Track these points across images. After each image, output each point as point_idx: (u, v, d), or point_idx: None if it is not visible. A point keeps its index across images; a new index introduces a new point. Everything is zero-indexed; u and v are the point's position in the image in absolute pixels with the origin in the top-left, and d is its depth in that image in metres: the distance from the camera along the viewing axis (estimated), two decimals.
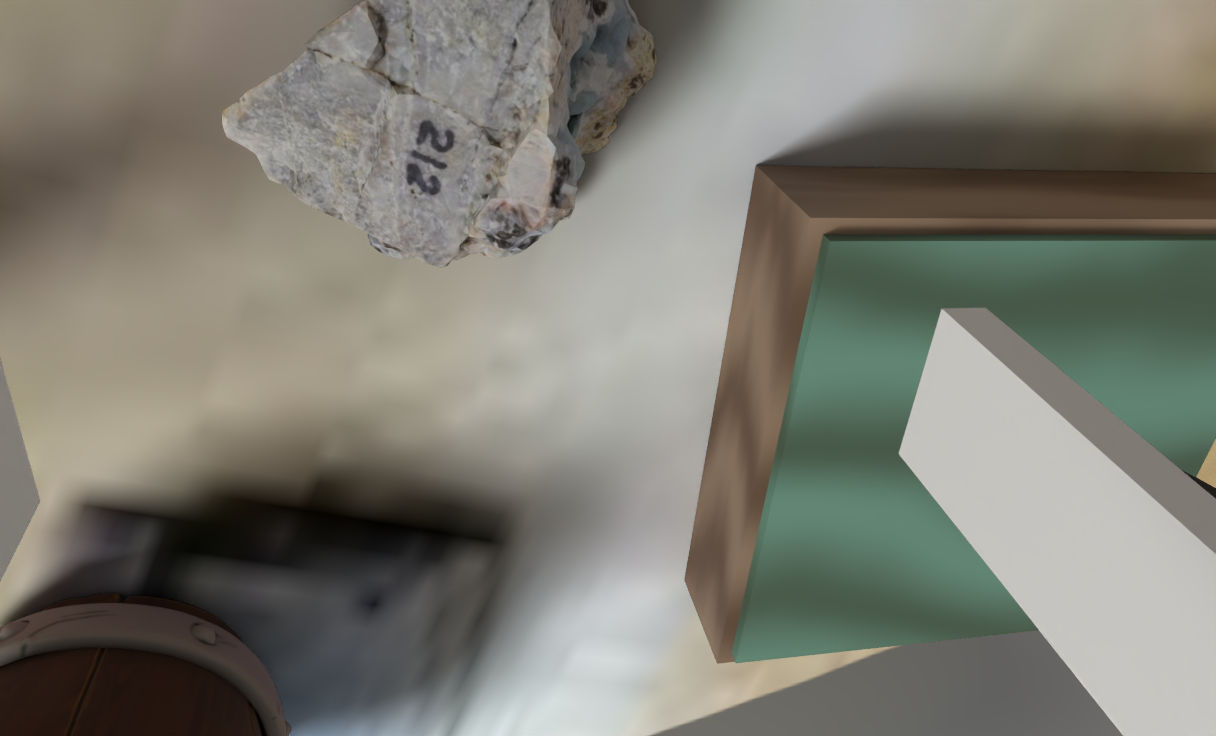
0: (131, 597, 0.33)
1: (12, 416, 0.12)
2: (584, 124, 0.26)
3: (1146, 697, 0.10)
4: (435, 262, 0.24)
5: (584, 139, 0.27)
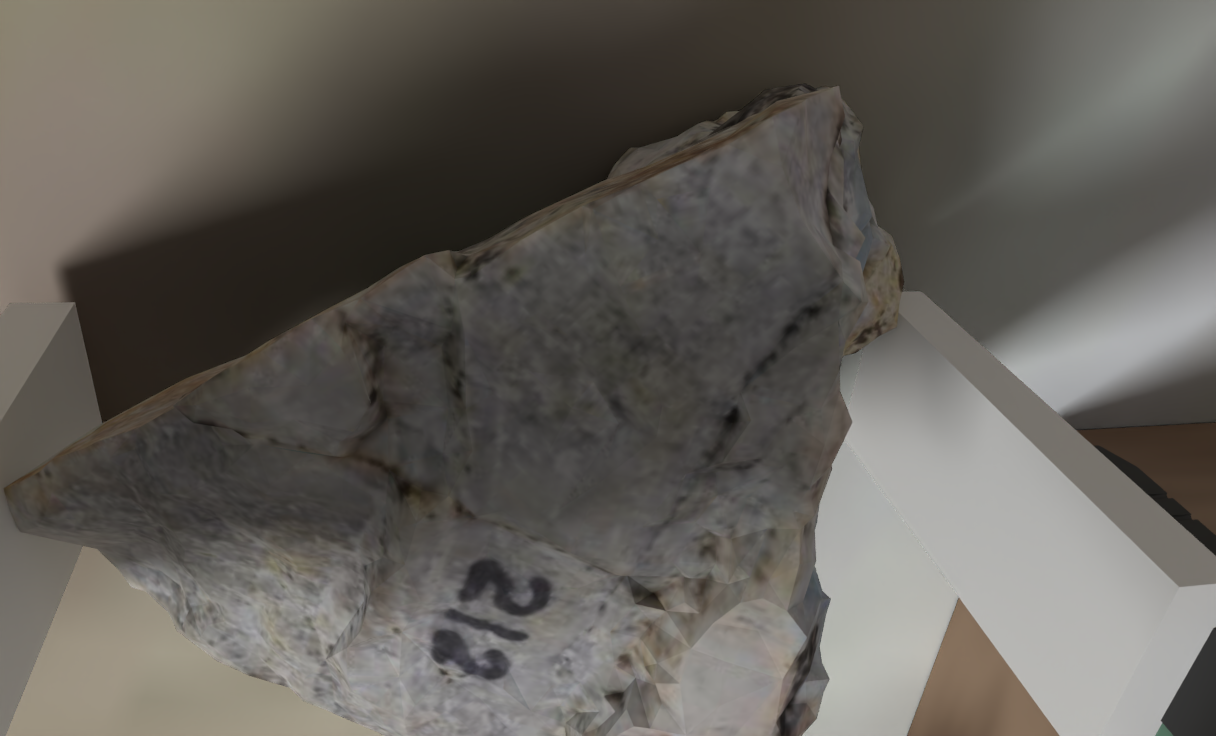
0: None
1: (91, 389, 0.12)
2: None
3: (1054, 663, 0.11)
4: None
5: None
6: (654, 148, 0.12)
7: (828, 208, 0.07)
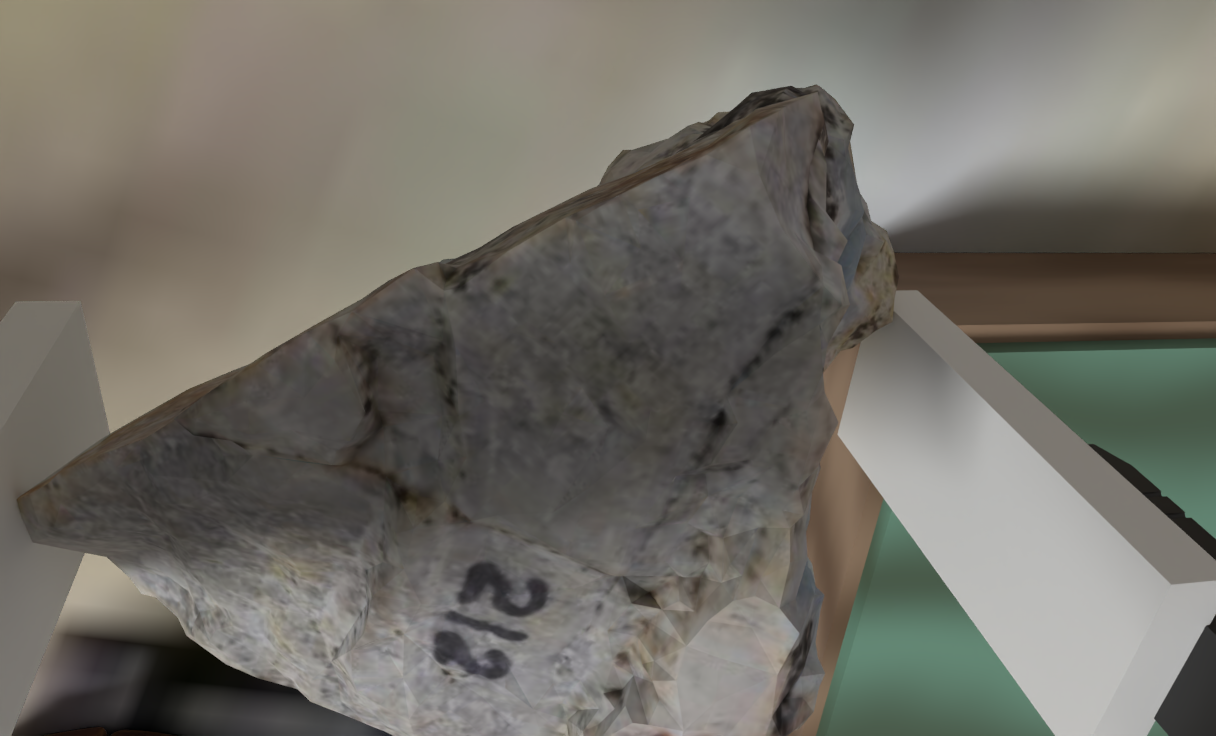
0: (118, 732, 0.29)
1: (96, 388, 0.13)
2: None
3: (1048, 661, 0.11)
4: None
5: None
6: (646, 150, 0.12)
7: (810, 212, 0.08)
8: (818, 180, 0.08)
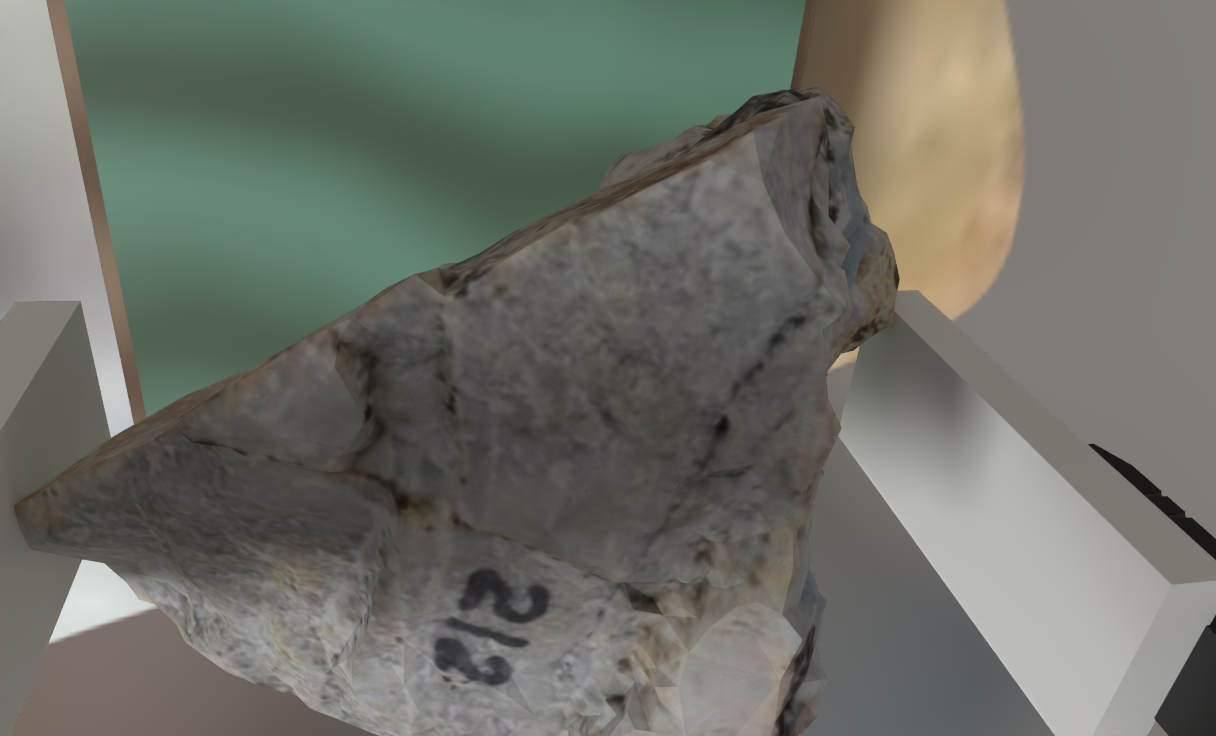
0: None
1: (96, 388, 0.13)
2: None
3: (1048, 661, 0.11)
4: None
5: None
6: (646, 153, 0.12)
7: (812, 217, 0.08)
8: (820, 184, 0.08)
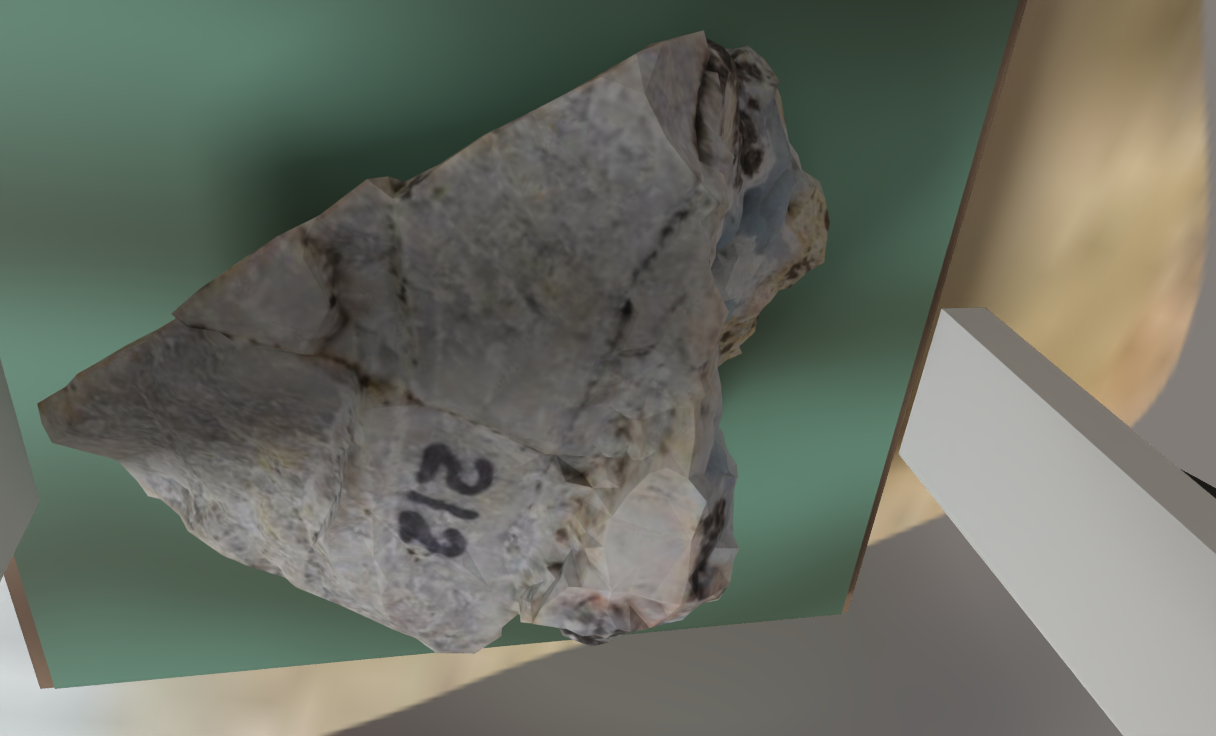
0: None
1: (12, 416, 0.12)
2: None
3: (1146, 697, 0.10)
4: (456, 650, 0.13)
5: None
6: None
7: (700, 132, 0.09)
8: (713, 109, 0.10)
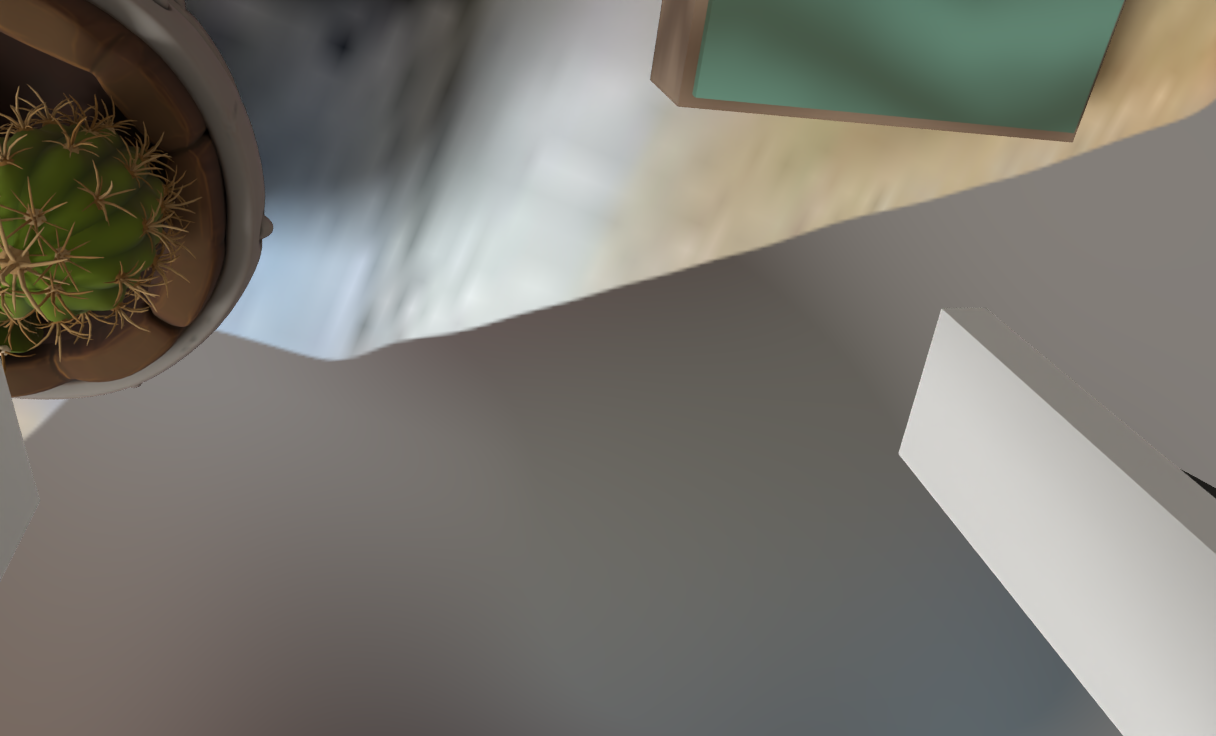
0: None
1: (12, 416, 0.12)
2: None
3: (1146, 697, 0.10)
4: None
5: None
6: None
7: None
8: None
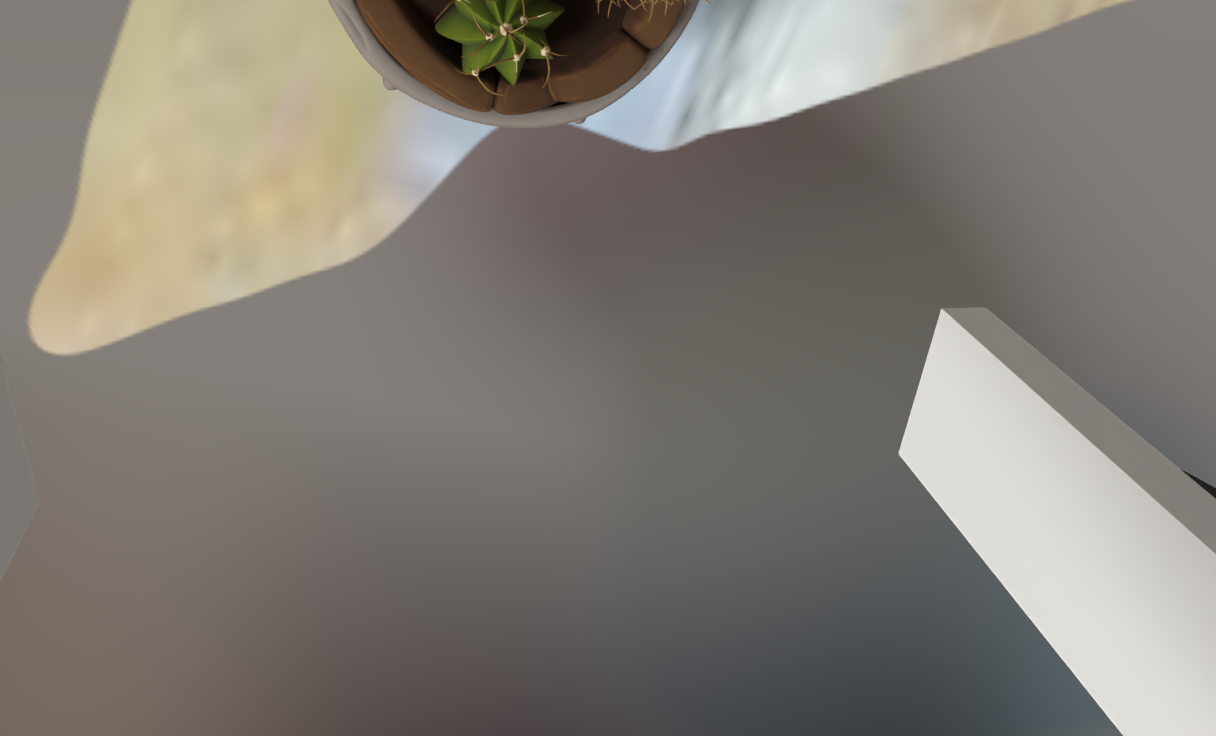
0: None
1: (12, 416, 0.12)
2: None
3: (1146, 697, 0.10)
4: None
5: None
6: None
7: None
8: None
